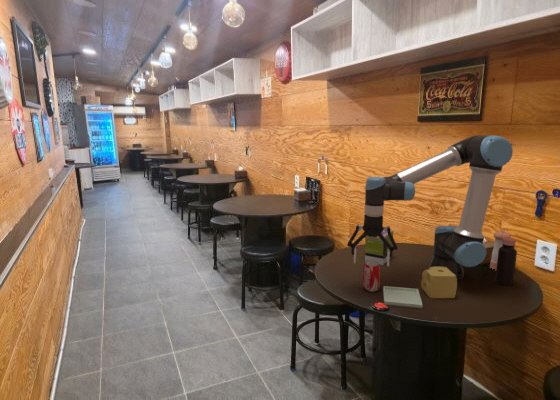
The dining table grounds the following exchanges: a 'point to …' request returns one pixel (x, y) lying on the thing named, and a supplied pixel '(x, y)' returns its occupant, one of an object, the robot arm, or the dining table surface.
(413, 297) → the tray
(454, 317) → the dining table surface
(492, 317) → the dining table surface
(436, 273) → the cheese
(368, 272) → the soda can
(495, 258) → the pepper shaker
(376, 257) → the tea box
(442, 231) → the robot arm
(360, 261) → the dining table surface
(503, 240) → the bottle
